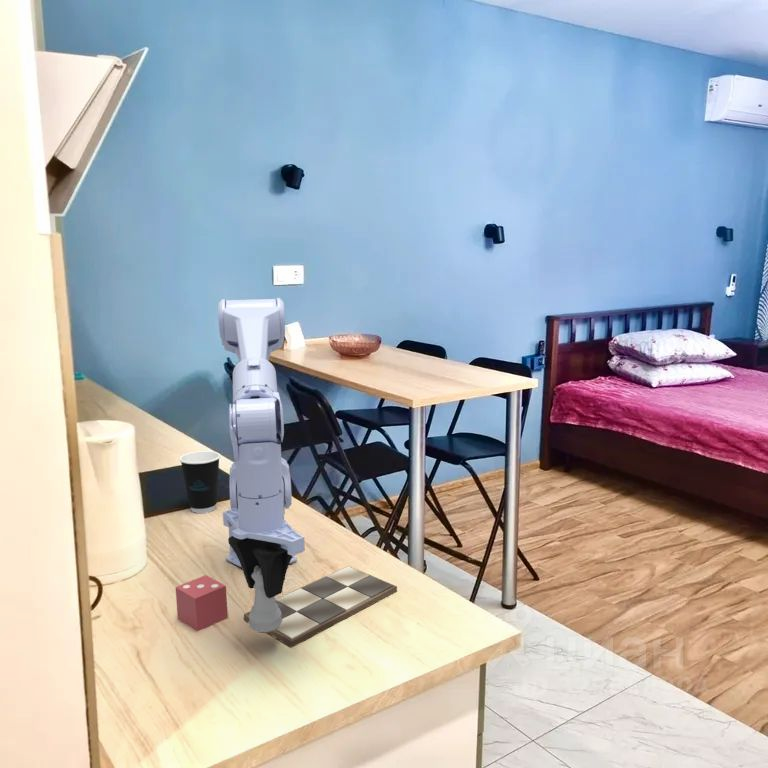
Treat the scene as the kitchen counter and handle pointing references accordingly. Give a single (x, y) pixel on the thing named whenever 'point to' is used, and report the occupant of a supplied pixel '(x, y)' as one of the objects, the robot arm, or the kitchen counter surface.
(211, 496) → the dixie cup
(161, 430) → the kitchen counter surface
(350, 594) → the game board
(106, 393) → the kitchen counter surface
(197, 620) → the die
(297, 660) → the kitchen counter surface
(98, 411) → the kitchen counter surface
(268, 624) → the rook chess piece
